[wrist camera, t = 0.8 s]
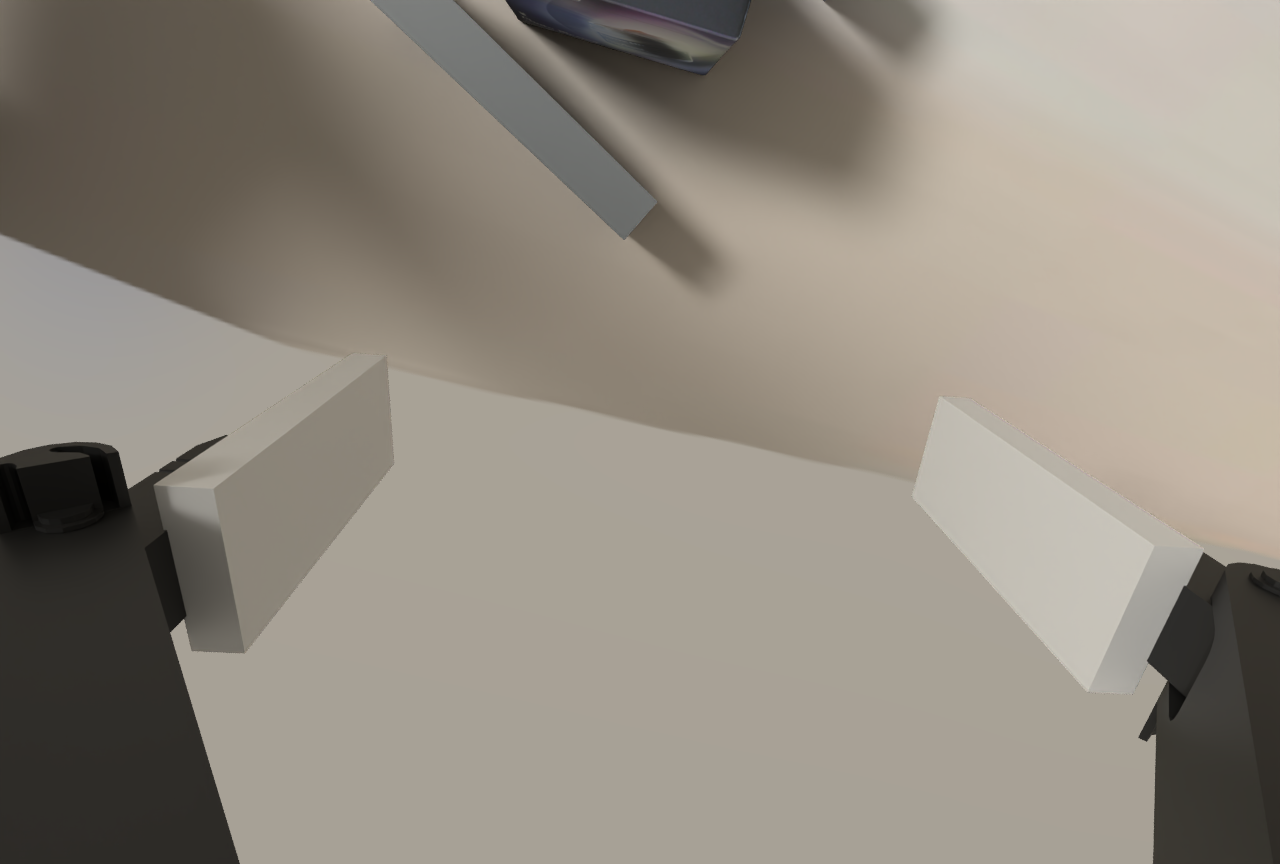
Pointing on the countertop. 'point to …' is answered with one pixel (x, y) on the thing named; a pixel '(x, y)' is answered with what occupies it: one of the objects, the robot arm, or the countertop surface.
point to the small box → (646, 26)
